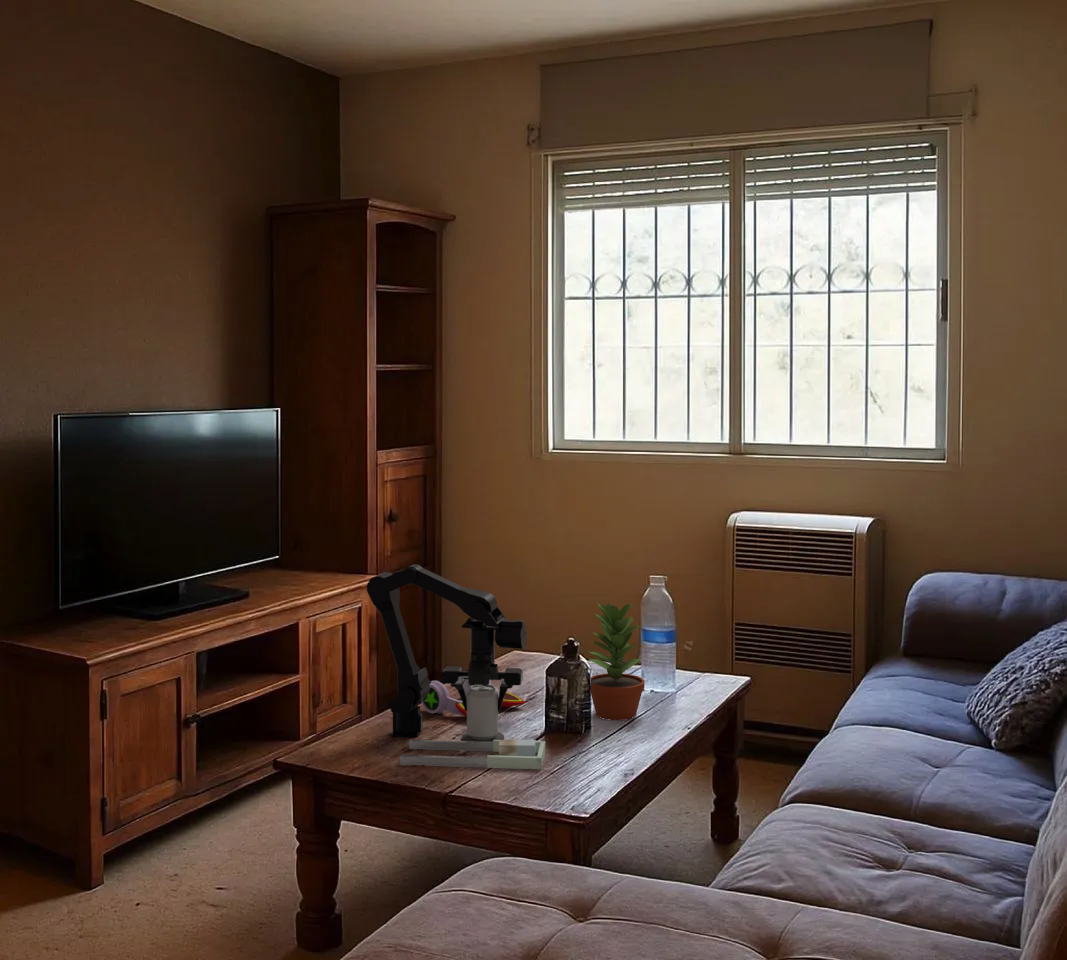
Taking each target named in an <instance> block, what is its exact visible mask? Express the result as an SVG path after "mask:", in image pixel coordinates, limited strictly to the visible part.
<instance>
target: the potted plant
mask: <svg viewBox="0 0 1067 960" xmlns="http://www.w3.org/2000/svg"><path fill="white" fill-rule="evenodd" d="M596 603H597V606H598V608H599V609H600V610H601V612H602V613H603V614H597V613H595V612H594V614H595V616H596V617H597V619H599V620H600V622H601V624H600V625H601V629H602V632H603V633H604V634H602V633H600V632H593V631H592V633H593V634H594V635H595V636H596V637H597V638H598V639H599V640H601V641H602V642H603V643H601V642H599V641H591V643H592V644H594V645H596V646H598V647H600V648H602V649H604V650H605V651H607V652H609V653H610V655H611V656H610V657H609V656H606V655H605V654H603V653H600V652H598V651H589V650H587V652H588V653H590V654H592V655H593V656H595V657H597V658H598V659H596V658H589V657H587V658H588V659H589V660H590V662H592V663H594V664H596V665H598V666H599V667H601V668H603V669H605V670H606V673H600V674H596V675H591V676H590V677H591V692H590V695H591V699H592V700H591V701H592V703H593V708H594V712H595V715H596V716H597V717H598V716H599V717H598V718H600V717H601V718H600V719H602V718H604V719H603V720H606V719H610V720H609V721H626V720H625V719H628V720H631V719H630V718H632V717H634V716H635V715H636V716H637V713H638V709H639V705H640V700H641V698H642V694H643V692H644V691H645V679H644V678H642V676H641V677H640V676H638V675H634V674H629V673H624V672H626V671H627V670H629V669H630V668H632V667H633V666H635V665H636V664H637V663H639V662H640V660H641V659H642V657H640V658H632V659H629V660H628V661H626V662H624V658H625V655H626V654H628V653H629V652H630V651H631V650H632V649H634V648H635V647H636V646H637V644H633V645H630V644H629V643H628V642H629V640H630V638H631V637H632V634H633V632H634V631H635V630H636V629H638V628H639V627H641V625H638V624H637V625H633V624H632V622H633V621H634V619H633V617H634V615H632V616H631V617H625V616H626V615H627V613H628V612H629V611H630V609H631V607H632V606H633V604H634V602H632V603H631V604H630V603H629V604H625V605H624V606H622V608H621V609H620V610H619V608H618V606H616V605H613V604H610V602H609V601H608V602H607V604H606V605H605V604H599V603H598V601H596ZM603 660H604V661H603ZM636 716H635V717H636ZM635 717H634V718H635ZM632 719H633V718H632Z"/></svg>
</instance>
